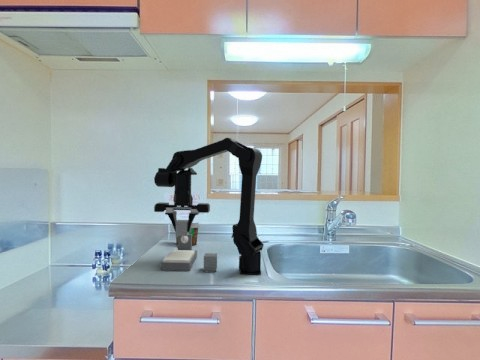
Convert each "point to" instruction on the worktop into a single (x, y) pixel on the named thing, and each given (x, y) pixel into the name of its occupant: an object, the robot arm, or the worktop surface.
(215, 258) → the block
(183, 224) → the block
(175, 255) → the scale
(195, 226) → the food container
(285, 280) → the worktop surface
